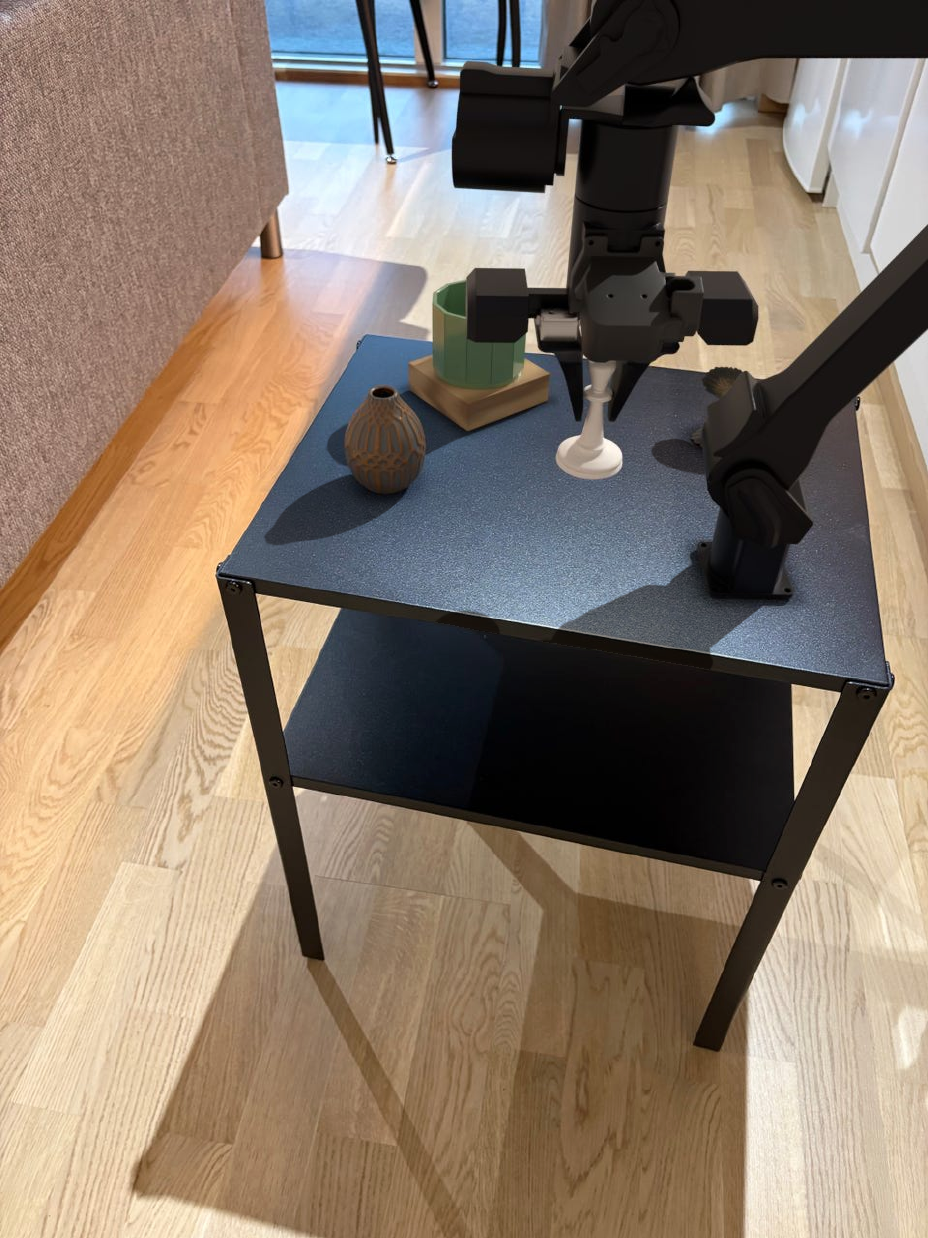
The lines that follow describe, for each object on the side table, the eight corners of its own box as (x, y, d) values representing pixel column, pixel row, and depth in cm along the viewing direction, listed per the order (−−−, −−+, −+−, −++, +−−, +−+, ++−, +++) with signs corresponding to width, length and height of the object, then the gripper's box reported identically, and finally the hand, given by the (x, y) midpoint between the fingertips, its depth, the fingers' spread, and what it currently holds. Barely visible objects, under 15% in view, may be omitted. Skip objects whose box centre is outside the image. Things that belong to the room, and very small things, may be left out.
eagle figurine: (781, 403, 97) (692, 384, 96) (816, 368, 90) (721, 346, 89) (775, 475, 95) (685, 456, 94) (811, 444, 88) (713, 423, 87)
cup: (524, 390, 95) (529, 320, 90) (431, 388, 95) (431, 318, 90) (521, 347, 101) (525, 279, 96) (434, 345, 101) (434, 278, 96)
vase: (430, 462, 91) (429, 374, 85) (420, 506, 85) (419, 415, 80) (355, 457, 91) (349, 369, 85) (340, 500, 86) (333, 410, 80)
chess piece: (552, 442, 76) (565, 318, 69) (616, 442, 76) (636, 319, 69) (559, 479, 72) (574, 352, 65) (627, 480, 72) (648, 353, 66)
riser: (548, 400, 99) (550, 373, 97) (467, 431, 95) (468, 403, 93) (487, 362, 105) (488, 335, 103) (408, 389, 100) (407, 362, 98)
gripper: (471, 244, 55) (465, 481, 66) (807, 249, 56) (748, 484, 66) (468, 176, 63) (463, 396, 74) (760, 180, 64) (715, 399, 74)
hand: (594, 419), depth 72 cm, fingers closed on chess piece
